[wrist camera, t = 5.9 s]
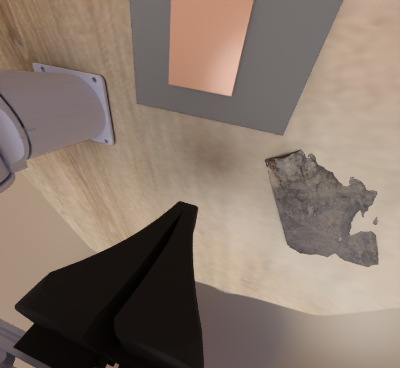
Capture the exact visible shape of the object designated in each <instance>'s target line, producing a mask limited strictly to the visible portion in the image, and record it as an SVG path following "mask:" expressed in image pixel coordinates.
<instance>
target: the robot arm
mask: <svg viewBox="0 0 400 368" xmlns="http://www.w3.org/2000/svg"><path fill="white" fill-rule="evenodd" d="M33 69H34V72H32V71H17V70H1V69H0V193H2V192H3V191H5V190H6V189H7V188H9V187H10V186H11V185H12V184H13V182H14V180H15V172H17V171H20V170H23V169H25V168H28V166H27V163H26V160H28V159H31V158H34V157H37V156H40V155H43V154H46V153H49V152H52V151H55V150H58V149H61V148H64V147H67V146H70V145H73V144H76V143H79V142H82V141H85V140H88V139H89V140H93V141H96V142H100V143H104V144H107V145H113V144H114V136H113V130H112V124H111V118H110V112H109V105H108V99H107V93H106V87H105V81H104V79H103V77H102V76H100V75H96V74H91V73H86V72H81V71H76V70H71V69H66V68H61V67H55V66H50V65H45V64H40V63H33ZM95 78H96V80H95ZM107 140H108V141H107ZM197 212H198V207H197V206H195V205H191V204H188V203H184V202H181V201H179V202H178V203H176V204H175V205H174V206H173V207H172V208H171V209H169V210H168V211H167V212H166V213H164V214H163V215H162V216H161V217H159V218H158V219H157V220H155V221H154V222H152V223H151V224H150V225H148V226H147V227H145V228H144V229H142V230H141V231H139V232H137V233H136V234H134V235H133V236H131V237H129V238H127V239H126V240H124V241H122V242H120V243H118V244H116V245H114V246H112V247H110V248H108V249H106V250H104V251H102V252H100V253H97V254H95V255H93V256H91V257H88V258H86V259H84V260H81V261H79V262H76V263H74V264H71V265H69V266H66V267H63V268H61V269H58V270H56V271H53V272H50V273H49V274H48V275H47V276H46V277H44V278H43V279H42V280H41V281H40V282H39V283H38V284H37V285H36V286H35V287H34V288H33V289H31V291H29V292H28V293H27V294H26V295H25V296H24V297H23V298H22V299H21V300H20V301H19V302H18V303H17V304H16V305H15V309H16V310H17V311H18V312H20V313H21V314H22V315H24V316H25V317H26V318H28V319H29V320H31V321H32V322H34V324H33V325H32V327H31V328H30V329H29V330H28V331H27V332H25V331H23V330H21V329H19V328H17V327H15V326H13V325H11V324H9V323H7V322H5V321H3V320H1V319H0V368H16V367H13V363H14V361H15V357H17V358H19V359H21V360H22V361H24V362H26V363H28V364H30V365H32V366H34V367H36V368H105V367H106V365H107V364H108V365H110V366H114V365H115V363H117V364H119V367H118V368H204V357H203V343H202V342H203V341H202V328H201V323H200V317H199V311H198V304H197V297H196V289H195V279H194V268H193V232H194V228H195V224H196V218H197Z"/></svg>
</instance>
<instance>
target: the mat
mask: <svg viewBox="0 0 400 368" xmlns="http://www.w3.org/2000/svg"><path fill="white" fill-rule="evenodd" d="M342 2H343V0H255V2H254V6H253V11H252V15H251V19H250V23H249V28H248V32H247V36H246V41H245V45H244V49H243V53H242V58H241V62H240V66H239V70H238V75H237V79H236V83H235V88H234V92H233V96H227V95H221V94H216V93H211V92H206V91H201V90H196V89H191V88H185V87H180V86H175V85H170V84H169V50H170V16H171V0H130V13H131V27H132V41H133V55H134V69H135V83H136V97H137V104H142V105H146V106H151V107H155V108H160V109H165V110H169V111H174V112H178V113H183V114H187V115H192V116H197V117H201V118H206V119H210V120H215V121H219V122H224V123H228V124H233V125H238V126H242V127H247V128H251V129H256V130H260V131H265V132H270V133H274V134H279V135H283V134H284V131H285V129H286V127H287V125H288V122H289V120H290V118H291V116H292V113H293V111H294V109H295V107H296V105H297V102H298V100H299V98H300V96H301V93H302V91H303V89H304V87H305V84H306V82H307V80H308V78H309V76H310V73H311V71H312V69H313V67H314V64H315V62H316V60H317V58H318V56H319V53H320V51H321V49H322V47H323V44H324V42H325V40H326V38H327V35H328V33H329V31H330V29H331V27H332V24H333V22H334V20H335V18H336V15H337V13H338V11H339V9H340V6H341V4H342Z"/></svg>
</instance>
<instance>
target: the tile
mask: <svg viewBox="0 0 400 368" xmlns="http://www.w3.org/2000/svg"><path fill="white" fill-rule="evenodd" d="M254 2H255V0H171V16H170V50H169V84H170V85H175V86H180V87H185V88H191V89H196V90H201V91H206V92H211V93H216V94H221V95H227V96H233V92H234V88H235V83H236V79H237V75H238V70H239V66H240V62H241V58H242V53H243V49H244V45H245V41H246V36H247V32H248V28H249V23H250V19H251V15H252V11H253V6H254Z"/></svg>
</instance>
